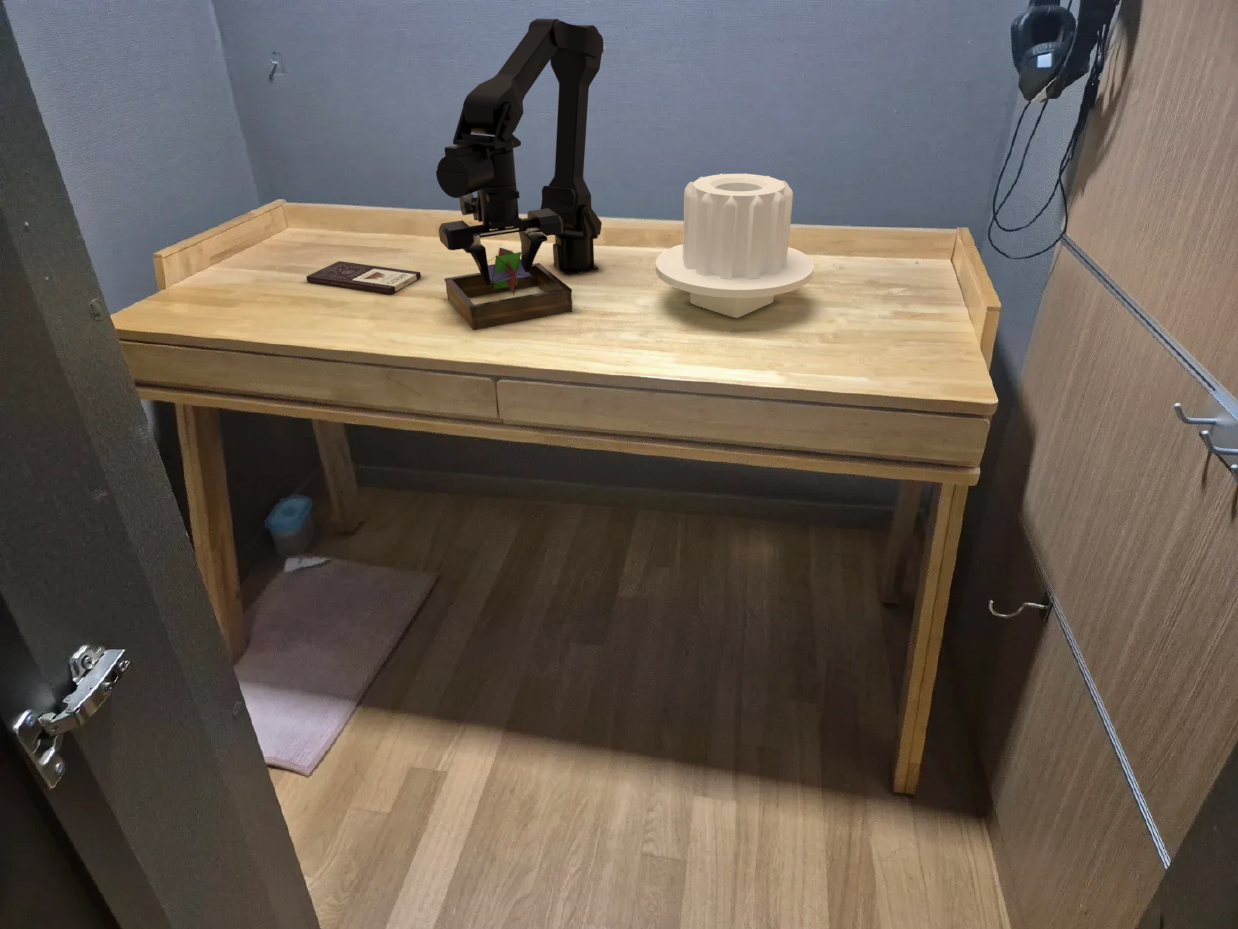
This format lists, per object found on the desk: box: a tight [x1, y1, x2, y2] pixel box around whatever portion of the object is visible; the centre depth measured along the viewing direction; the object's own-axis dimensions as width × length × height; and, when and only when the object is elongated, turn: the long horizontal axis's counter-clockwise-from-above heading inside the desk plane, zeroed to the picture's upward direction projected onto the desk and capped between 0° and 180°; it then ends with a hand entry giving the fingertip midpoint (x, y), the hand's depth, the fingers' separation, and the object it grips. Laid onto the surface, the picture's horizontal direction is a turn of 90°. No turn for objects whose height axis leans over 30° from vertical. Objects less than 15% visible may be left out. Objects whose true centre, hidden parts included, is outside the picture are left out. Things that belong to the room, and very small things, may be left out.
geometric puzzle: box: [487, 247, 531, 296], centre depth 131 cm, size 7×7×8 cm
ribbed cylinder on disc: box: [655, 172, 815, 319], centre depth 128 cm, size 25×25×19 cm
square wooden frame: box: [444, 262, 573, 331], centre depth 133 cm, size 17×15×4 cm
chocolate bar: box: [305, 260, 422, 295], centre depth 145 cm, size 9×1×18 cm
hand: (506, 281), depth 132 cm, fingers closed on geometric puzzle, 6 cm apart
